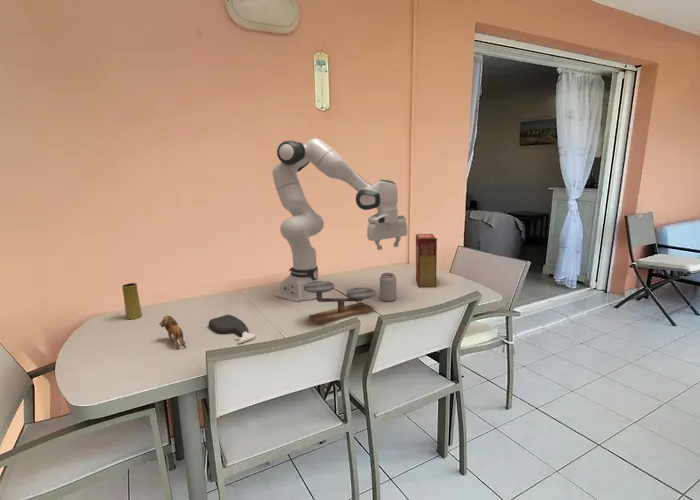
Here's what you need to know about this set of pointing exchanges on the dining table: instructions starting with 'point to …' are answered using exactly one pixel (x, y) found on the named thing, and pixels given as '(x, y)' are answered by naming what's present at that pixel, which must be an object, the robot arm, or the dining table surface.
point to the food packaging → (426, 260)
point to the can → (388, 287)
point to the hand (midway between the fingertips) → (387, 248)
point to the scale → (342, 310)
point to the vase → (131, 301)
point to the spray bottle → (231, 327)
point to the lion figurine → (173, 330)
